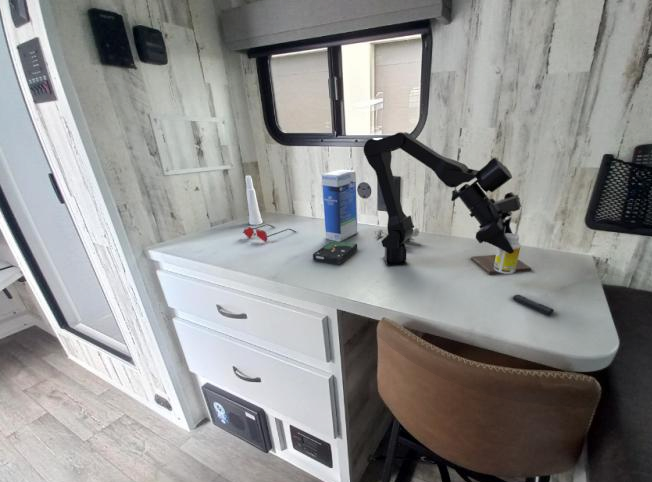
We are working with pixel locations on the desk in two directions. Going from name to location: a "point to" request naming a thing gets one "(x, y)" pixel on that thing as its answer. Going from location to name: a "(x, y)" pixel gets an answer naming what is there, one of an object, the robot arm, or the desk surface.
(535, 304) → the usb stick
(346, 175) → the string lights box
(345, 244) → the disk drive
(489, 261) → the walnut board
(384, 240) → the robot arm
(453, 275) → the desk surface
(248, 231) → the glasses
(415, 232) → the clip-on lamp
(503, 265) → the supplement bottle
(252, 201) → the cosmetic bottle
